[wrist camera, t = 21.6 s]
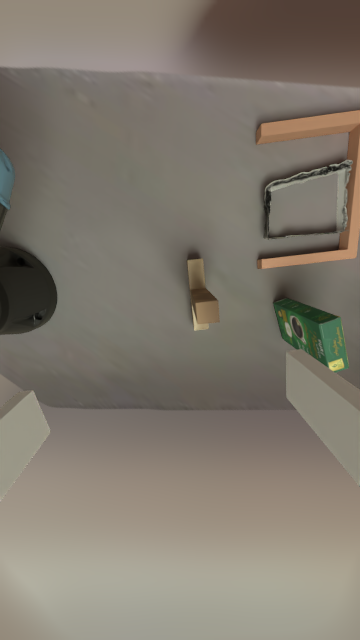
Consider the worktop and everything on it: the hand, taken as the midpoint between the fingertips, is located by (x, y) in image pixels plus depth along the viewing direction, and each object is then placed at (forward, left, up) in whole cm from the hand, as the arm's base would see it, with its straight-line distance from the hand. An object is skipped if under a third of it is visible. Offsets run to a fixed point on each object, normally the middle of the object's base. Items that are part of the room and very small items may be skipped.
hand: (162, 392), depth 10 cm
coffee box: (+20, -6, -28) cm, 35 cm away
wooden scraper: (+4, +1, -28) cm, 28 cm away
